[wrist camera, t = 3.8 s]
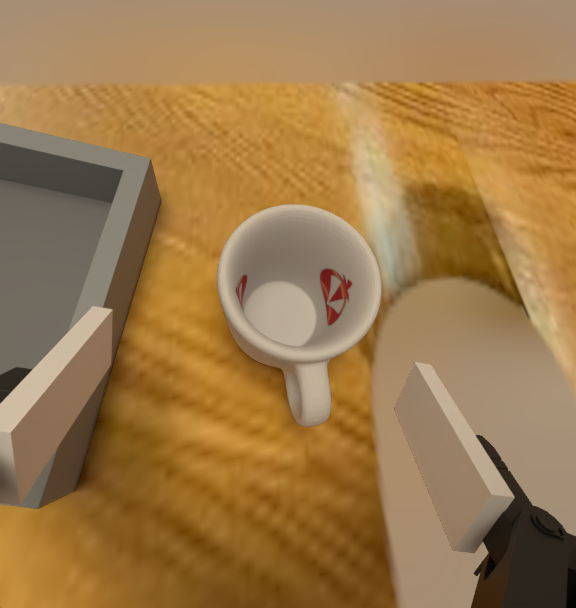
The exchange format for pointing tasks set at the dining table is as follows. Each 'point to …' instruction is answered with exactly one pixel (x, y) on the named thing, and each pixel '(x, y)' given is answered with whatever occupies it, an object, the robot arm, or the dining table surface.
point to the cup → (299, 297)
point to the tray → (67, 262)
